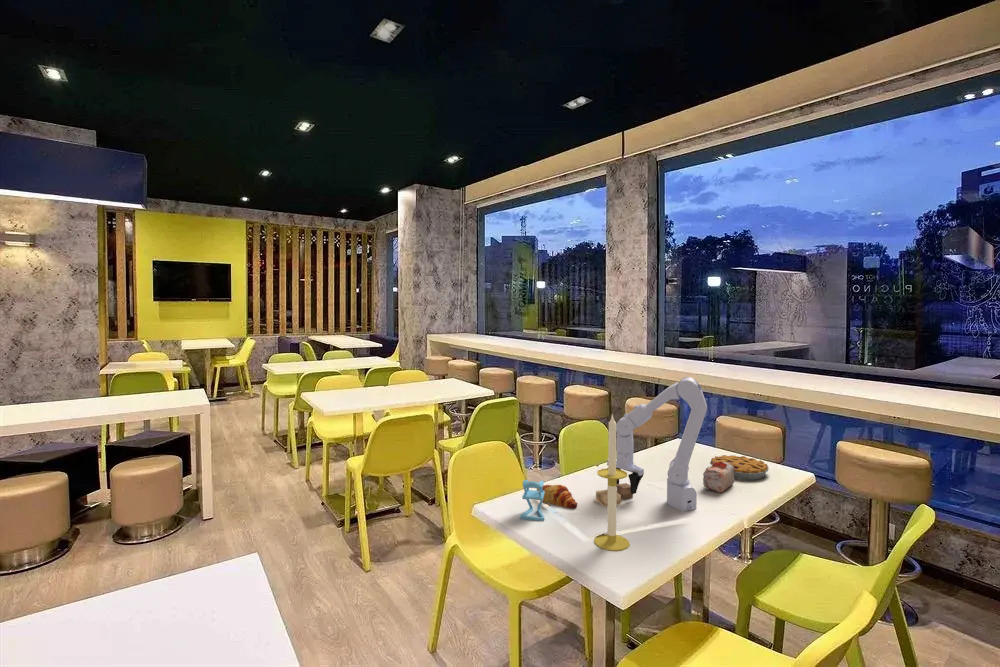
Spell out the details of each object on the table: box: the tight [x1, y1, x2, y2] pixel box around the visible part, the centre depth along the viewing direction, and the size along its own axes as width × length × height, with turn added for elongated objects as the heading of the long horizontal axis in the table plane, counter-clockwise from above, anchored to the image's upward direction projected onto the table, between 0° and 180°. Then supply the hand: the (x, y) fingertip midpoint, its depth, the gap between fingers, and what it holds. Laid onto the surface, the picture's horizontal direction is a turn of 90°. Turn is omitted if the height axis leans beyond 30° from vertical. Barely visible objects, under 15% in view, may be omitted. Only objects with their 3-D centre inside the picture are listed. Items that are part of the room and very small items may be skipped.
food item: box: [702, 461, 735, 494], centre depth 188 cm, size 14×8×10 cm, turn 138°
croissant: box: [536, 484, 578, 509], centre depth 174 cm, size 21×10×8 cm, turn 33°
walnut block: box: [617, 482, 634, 500], centre depth 176 cm, size 4×4×4 cm
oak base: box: [595, 489, 622, 507], centre depth 171 cm, size 6×6×3 cm
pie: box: [709, 454, 770, 481], centre depth 205 cm, size 22×22×5 cm
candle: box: [593, 413, 630, 552], centre depth 143 cm, size 10×10×38 cm
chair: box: [519, 479, 545, 522], centre depth 164 cm, size 8×8×12 cm
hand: (624, 490), depth 176 cm, fingers open, 7 cm apart
